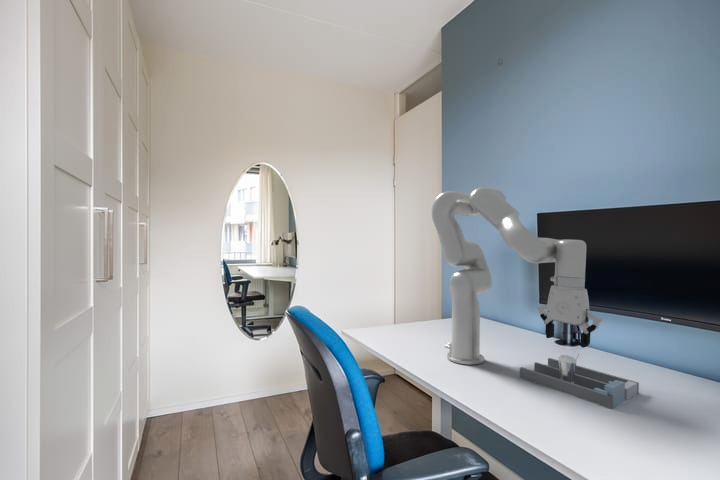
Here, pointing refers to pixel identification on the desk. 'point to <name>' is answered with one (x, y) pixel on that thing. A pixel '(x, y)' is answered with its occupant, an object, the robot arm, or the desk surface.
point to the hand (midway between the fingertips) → (566, 341)
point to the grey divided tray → (584, 383)
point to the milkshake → (567, 368)
